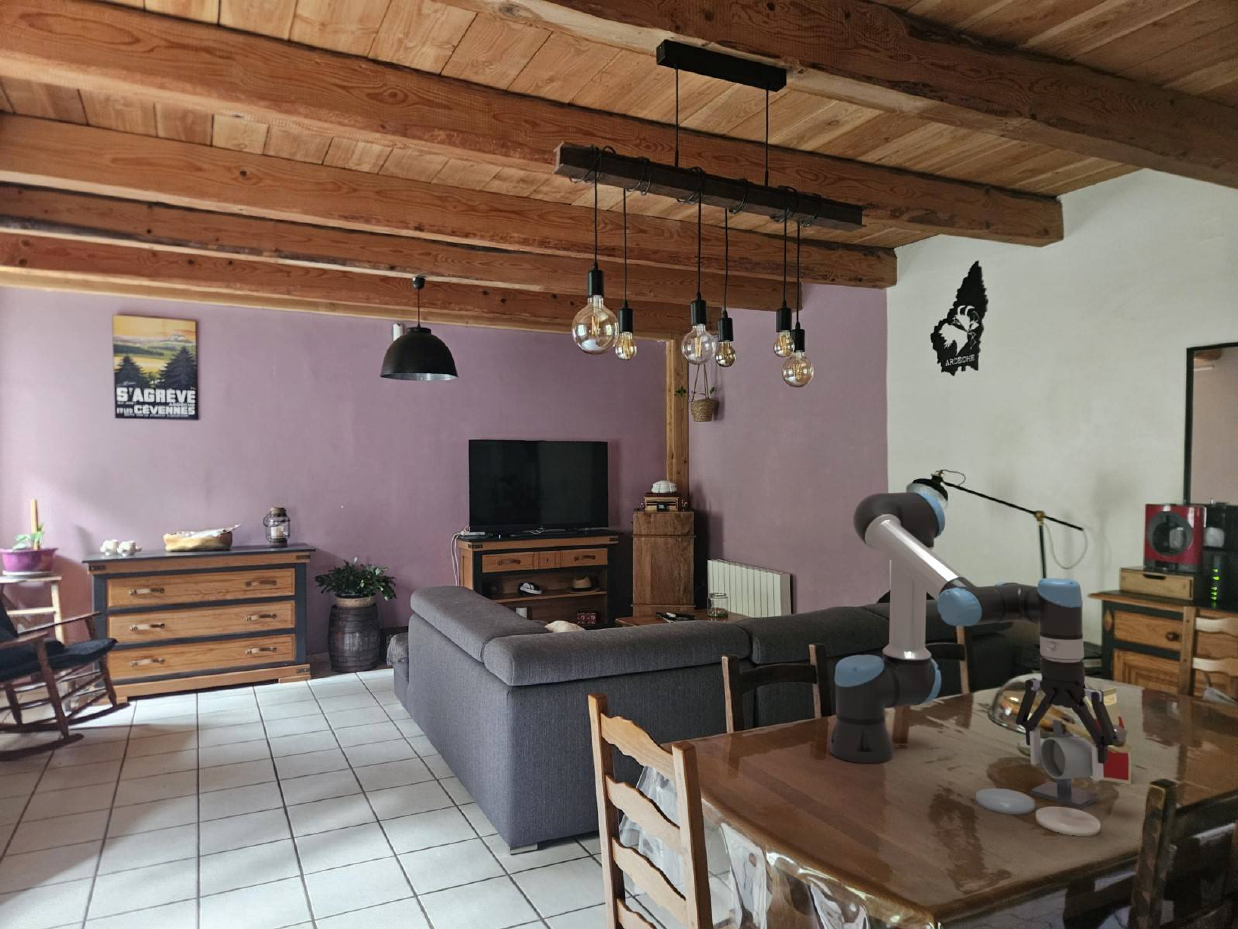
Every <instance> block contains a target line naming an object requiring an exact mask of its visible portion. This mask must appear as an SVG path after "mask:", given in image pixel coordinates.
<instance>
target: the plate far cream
mask: <svg viewBox="0 0 1238 929" xmlns="http://www.w3.org/2000/svg"><path fill="white" fill-rule="evenodd" d="M1035 820H1036V823H1037V824H1038V825H1040V826H1041V825H1042V826H1041V827H1043V828H1045V829H1047V828H1048V829H1047V830H1049V829H1050V830H1049V831H1051V830H1052V832H1055V833H1057V832H1059V834H1061V833H1062V834H1063V835H1066V834H1067V836H1072V835H1075V837H1089V836H1090V837H1091V836H1094V835H1095V836H1096V835H1098V834H1099V833H1100V832H1101V822H1100V820H1099V819H1098V818H1097V817H1095V816H1094V815H1092V814H1090V813H1088V812H1085V811H1082V810H1081V809H1077V808H1072V807H1065V806H1045V807H1041V808H1038V809H1037V810H1036V812H1035ZM1062 834H1061V835H1062Z"/></svg>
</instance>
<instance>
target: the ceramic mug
mask: <svg viewBox="0 0 1238 929" xmlns="http://www.w3.org/2000/svg"><path fill="white" fill-rule="evenodd" d="M1092 745H1094V744H1092V743H1091V742H1090V741H1088V740H1086V739H1084V738H1082V737H1070V738H1060V737H1055V736H1054V737H1053V736H1049V737H1047V738H1044V739H1043V741H1041V749H1040V755H1041V762H1040V764H1041V766H1043V769H1044V770H1045V772H1046V774H1048V776H1050V777H1051V778H1053V779H1056V780H1057V779H1070V778H1071V779H1077V778H1078V779H1080V778H1081V779H1082V778H1090V776H1093V767H1092Z"/></svg>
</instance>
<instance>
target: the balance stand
mask: <svg viewBox="0 0 1238 929" xmlns="http://www.w3.org/2000/svg"><path fill="white" fill-rule="evenodd" d="M1061 719H1063V720H1065V721H1067V722H1069V723H1072V721H1071V720H1072V718H1071V717H1070V716H1065V715H1062V716H1061ZM1052 726H1053V728H1052V731H1053V733H1052V734H1053V735H1054V737H1060V738H1071V734H1070V733H1071V732H1070V731H1068V730H1066V729H1063V728H1062V721H1060V720H1055V719H1054V720H1053V723H1052ZM1030 792H1031V793H1030V795H1031V794H1033V795H1032V796H1035V795H1036V796H1035V797H1038V798H1041V797H1043V798H1042V799H1045V800H1048V799H1049V801H1050V802H1051V801H1052V802H1055V801H1056V802H1055V803H1059V804H1061V805H1065V804H1067V805H1066V806H1068V805H1069V806H1068V807H1071V806H1072V807H1071V808H1074V809H1078V808H1080V809H1079V810H1082V809H1084V808H1085V807H1087V805H1088V806H1090V805H1091V804H1093V803H1095V802H1096V801H1099V794H1097V793H1095V792H1090V791H1087V790H1083V789H1080V788H1077V787H1073V786H1072V778H1070V779H1056V782H1055V781H1050V780H1049V781H1045V783H1042V784H1040V785H1037V786H1036V787H1034V788H1032V789H1031V790H1030ZM1094 801H1095V802H1094Z"/></svg>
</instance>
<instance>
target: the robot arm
mask: <svg viewBox="0 0 1238 929" xmlns="http://www.w3.org/2000/svg"><path fill="white" fill-rule="evenodd" d="M852 520H853V527H854V530H855V533H856V534H857V536H858V537H859V539H860V540H861V541H862V542H863V543H864V544H865V545H866V546H867V547H869V548H870V549H871V550H875V551H879V552H881V553H882V554H883V555H884V556H886V558H888V559H889V560H890V585H889V586H890V592H889V593H890V595H889V597H890V598H889V599H890V600H889V633H888V634H889V636H888V637H889V638H888V642H889V643H888V644H887V645H886V646H885V647H884V648H883V649H882V658H881V657H880V656H878V655H872V654H863V655H862V654H856V655H850V656H847V657H844V658H843V659H842V658H841V660H839V661H837V663H836V665H835V669H834V670H835V671H834V672H835V673H834V679H833V680H834V684H835V685H834V686H835V712H836V713H835V714H836V715H835V716H836V719H835V723H834V724H835V725H834V727H833V730H832V732H831V733H832V735H831V737H830V740H829V752H830V753H832V755H833V757H835V758H838V759H840V760H844V761H847V762H852V763H859V764H860V763H861V764H876V763H882V762H883V763H884V762H888V761H889V760H891V759H892V758H894V746H893V743H892V741H891V737H890V734H889V731H888V727H887V724H886V716H885V715H886V714H885V713H886V711H885V709H891V708H899V707H900V708H901V707H909V706H913V707H914V706H915V707H916V706H920V705H923V704H927V703H930V702H932V701H933V700H934V699H936V697H937V696H938V694H939V692H940V690H941V687H942V675H941V670H939V665H938V664H937V662H936V661H935V660H934V658H932V653H931V652H930V651H929V650H928V649H927V648H926V619H927V618H926V616H927V593H928V595H929V596H931V597H932V598H933V599H934V600H936V602H937V611H938V613H939V614H940V616H941V619H942V621H944V622H945V623H946V624H947V625H950V626H952V627H958V626H960V627H961V626H962V627H971V626H979V625H980V626H981V625H989V624H1000V623H1009V622H1024V623H1025V622H1026V623H1031V624H1037V625H1039V626H1038V627H1039V647H1040V648H1039V649H1040V650H1039V652H1040V655H1041V656H1042V657H1041V659H1040V674H1041V680H1037V679H1036V678H1034V677H1032V678H1029V679H1026V680H1025V682H1024V687H1025V690H1024V691H1025V692H1024V693H1023V694H1024V697H1023V700H1022V703H1021V706H1020V707H1019V709H1018V712H1017V714H1016V717H1015V724H1016V725H1018V726H1021V727H1022V728H1024V731H1025V743H1026V746H1028V747H1030V748H1029V749H1030V750H1029V751H1030V764H1031V765H1032V766H1033V765H1034V766H1036V765H1037V764H1041V755H1040V749H1041V745H1042V741H1041V729H1038V728H1037V727H1038V725H1039V723H1040V722H1041V721H1042V719H1043V716H1044V715H1045V714H1046V712H1048V711H1049V710H1050V708H1052V706H1056V707H1059V706H1061V707H1064V708H1067V709H1071V710H1072V711H1073V712H1074V714H1076V716H1078V718H1079V720H1080V721H1081V723H1082V724H1083V726H1084V727H1085V730H1086V729H1087V731H1088V732H1089V734H1090V735H1091V737H1092V739H1093V740H1094V742H1095V743H1096V744H1094V745H1092V767H1093V779H1092V781H1093V782H1099V781H1102V780H1101V779H1103V778H1104V775H1103V764H1105V763H1107V761H1108V749H1107V747H1108V746H1112V745H1114V744H1116V743H1118V741H1119V740H1118V737H1117V735H1116V732H1115V730H1114V727H1113V725H1112V722H1111V720H1110V717H1109V714H1108V712H1107V709H1106V707H1105V704H1104V694H1103V691H1102V690H1103V689H1098V690H1093V689H1088V688H1087V687H1086V685H1085V682H1086V681H1085V679H1086V678H1085V662H1084V661H1083V660H1082V659H1084V657H1085V651H1084V633H1083V630H1084V629H1083V598H1082V590H1081V589H1082V588H1081V585H1080V583H1079V582H1078V581H1077V580H1074V579H1071V578H1070V579H1069V578H1059V577H1058V578H1056V577H1051V578H1049V577H1048V578H1047V577H1046V578H1040V579H1039V580H1038V582H1037V586H1035V585H1029V584H1022V583H1017V582H1013V581H1011V582H1005V581H1003V582H998V583H996V584H995V585H988V586H976V585H975V584H974V583H972V582H971V581H970V580H969V579H967V578H966V577H965V576H964V575H962V574H961V573H960V572H959V571H957V570H956V569H955V568H953V567H952V566H951V565H950V564H948V563H947V562H946V561H945V560H943V559H942V558H941V557H939V556H938V555H937V554H936V553H935V552H933V551H932V550H933V549H934V547H935V546H934V545H935V539H937V538H939V537H940V536H941V535H942V533H943V532H944V529H945V526H946V516H945V512H944V509H943V507H942V504H941V503H940V502H939V501H938V499H937V498H936V497H934V496H933V495H932V494H930V493H928V492H916V491H908V492H906V491H904V492H903V491H902V492H890V493H889V492H888V493H887V492H886V493H882V492H881V493H880V492H879V493H872V494H870V495H868V496H867V497H865V498H863V499H862V500H861V501H860V502H859V503H858V505H857V506H856V507H855V510H854V512H853V518H852ZM1040 689H1041V690H1042V692H1043V693H1044V696H1043V698H1042V699H1041V700H1040V703H1039V705H1038V706H1036V707H1037V709H1036V710H1035V711H1034V713H1033V714H1032V713H1030V711H1031V708H1032V705H1033V706H1034V702H1035V698H1036V696H1037V693H1038V691H1039V690H1040ZM1085 696H1087V697H1088V698H1089V701H1091V703H1092V707H1093V710H1094V713H1095V715H1096V718H1097V720H1098V723H1099V725H1100V727H1099V726H1098V724H1097V723H1096V721H1095V720H1094V718H1093V716H1092V715H1091V713H1090V712H1089V710H1088V707H1087V703H1086V701H1085V700H1084V698H1085ZM1030 714H1031V716H1030ZM1029 716H1030V717H1029ZM1100 728H1101V729H1100Z"/></svg>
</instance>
